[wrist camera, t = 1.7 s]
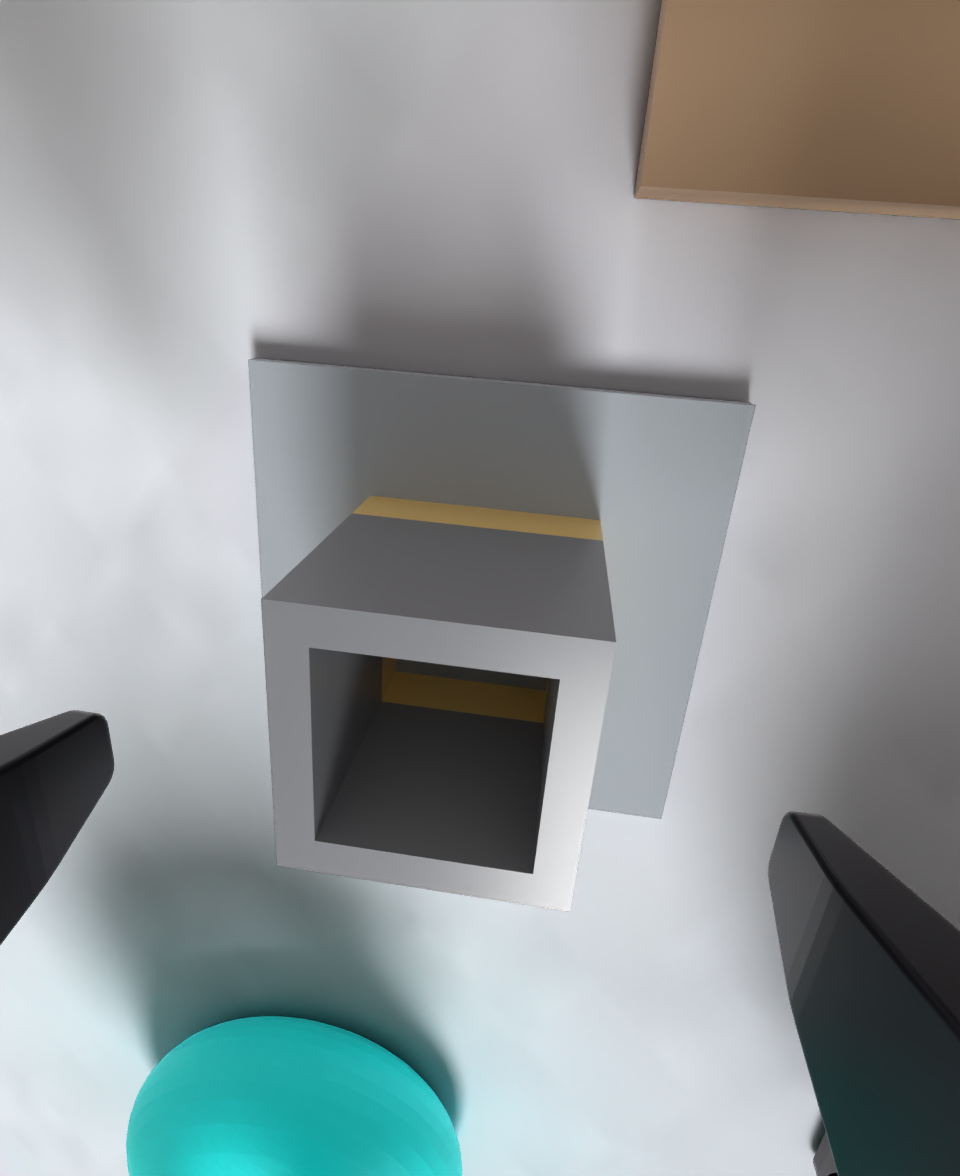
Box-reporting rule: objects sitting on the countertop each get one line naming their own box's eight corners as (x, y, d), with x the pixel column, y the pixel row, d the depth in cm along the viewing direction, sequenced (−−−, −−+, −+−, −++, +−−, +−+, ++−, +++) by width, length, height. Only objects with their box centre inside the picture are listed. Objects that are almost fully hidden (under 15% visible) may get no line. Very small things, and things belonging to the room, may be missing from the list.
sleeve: (571, 718, 14) (569, 910, 10) (368, 691, 15) (276, 865, 10) (600, 520, 13) (616, 642, 8) (370, 495, 13) (261, 599, 8)
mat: (658, 806, 15) (660, 819, 15) (278, 753, 16) (271, 763, 16) (749, 401, 12) (755, 406, 12) (257, 357, 13) (247, 359, 12)
